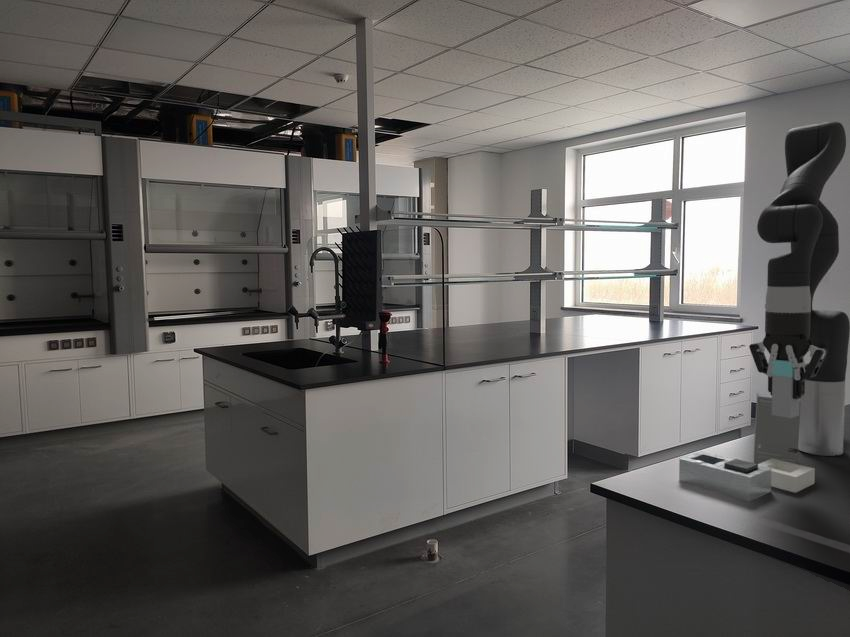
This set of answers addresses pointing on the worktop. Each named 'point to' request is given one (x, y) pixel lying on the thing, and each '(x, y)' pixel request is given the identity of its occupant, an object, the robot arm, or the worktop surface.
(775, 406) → the plug
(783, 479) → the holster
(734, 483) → the metal switch box
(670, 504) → the worktop surface
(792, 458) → the skincare box
